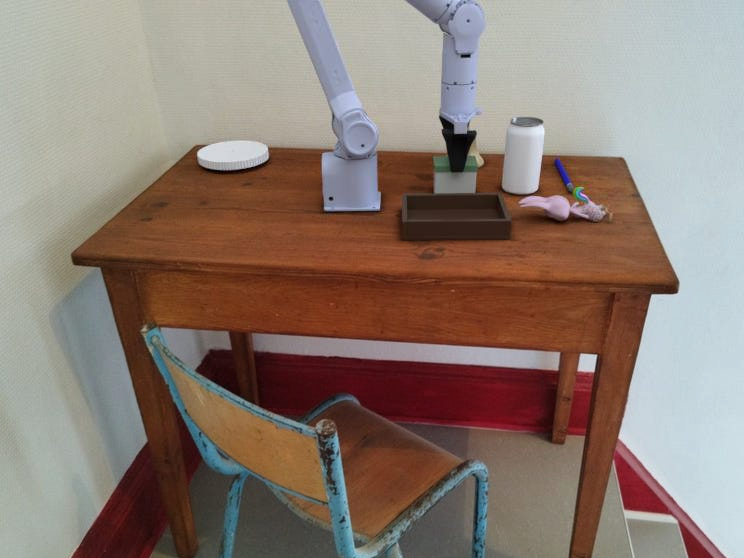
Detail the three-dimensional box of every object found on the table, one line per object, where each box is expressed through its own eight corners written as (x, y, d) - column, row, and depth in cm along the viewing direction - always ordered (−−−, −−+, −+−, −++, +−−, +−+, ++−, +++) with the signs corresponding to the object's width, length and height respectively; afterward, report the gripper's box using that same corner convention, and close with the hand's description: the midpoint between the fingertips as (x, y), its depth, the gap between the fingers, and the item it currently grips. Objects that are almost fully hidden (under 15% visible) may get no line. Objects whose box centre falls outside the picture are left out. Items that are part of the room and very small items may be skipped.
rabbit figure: (599, 219, 111) (512, 207, 109) (611, 184, 107) (522, 172, 106) (610, 234, 106) (520, 222, 104) (623, 199, 102) (530, 186, 101)
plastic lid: (245, 148, 141) (243, 136, 140) (283, 163, 133) (281, 150, 131) (186, 163, 134) (184, 151, 132) (222, 180, 125) (220, 167, 124)
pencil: (573, 193, 116) (574, 187, 116) (568, 193, 117) (569, 187, 116) (558, 161, 130) (558, 156, 130) (553, 161, 130) (554, 156, 130)
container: (433, 199, 115) (434, 166, 112) (432, 188, 120) (433, 155, 116) (476, 199, 115) (478, 165, 112) (473, 188, 120) (475, 155, 116)
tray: (402, 240, 102) (402, 221, 100) (401, 211, 111) (401, 193, 110) (509, 239, 101) (511, 220, 100) (500, 210, 111) (501, 192, 109)
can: (537, 196, 116) (546, 127, 109) (500, 194, 117) (506, 125, 110) (538, 184, 121) (546, 116, 114) (502, 182, 122) (508, 115, 115)
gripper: (488, 91, 101) (482, 178, 108) (479, 71, 112) (474, 150, 120) (442, 92, 101) (440, 179, 109) (437, 71, 113) (435, 151, 120)
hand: (455, 164), depth 114 cm, fingers open, 7 cm apart
